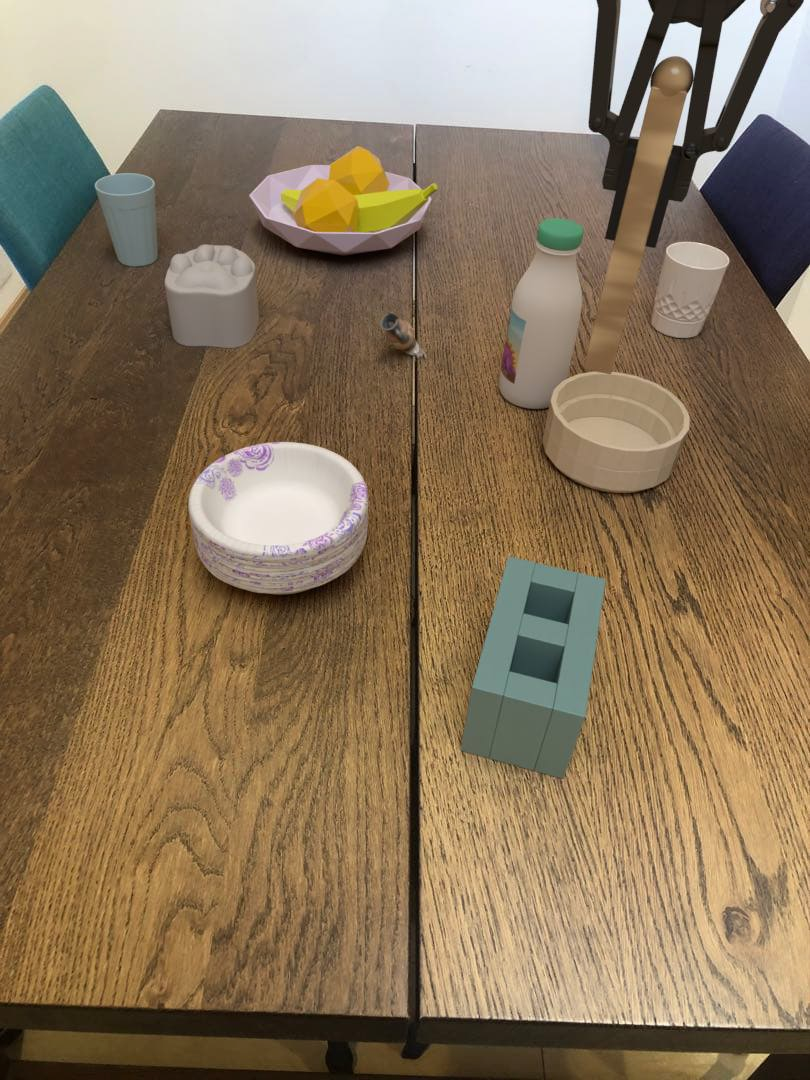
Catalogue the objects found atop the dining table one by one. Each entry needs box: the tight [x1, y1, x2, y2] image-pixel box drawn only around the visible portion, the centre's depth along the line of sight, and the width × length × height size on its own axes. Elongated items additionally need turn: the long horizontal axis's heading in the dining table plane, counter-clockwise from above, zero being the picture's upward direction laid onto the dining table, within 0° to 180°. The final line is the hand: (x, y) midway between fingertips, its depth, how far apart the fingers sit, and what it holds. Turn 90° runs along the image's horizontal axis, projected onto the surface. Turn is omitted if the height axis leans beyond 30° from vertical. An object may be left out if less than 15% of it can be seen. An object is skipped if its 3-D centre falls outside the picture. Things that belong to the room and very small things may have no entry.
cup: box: [94, 172, 159, 267], centre depth 112 cm, size 8×8×10 cm
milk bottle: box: [498, 217, 584, 410], centre depth 90 cm, size 8×8×20 cm
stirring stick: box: [582, 55, 694, 374], centre depth 63 cm, size 3×3×24 cm
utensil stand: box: [459, 555, 607, 780], centre depth 62 cm, size 8×13×8 cm, turn 164°
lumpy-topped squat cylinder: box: [164, 244, 260, 349], centre depth 102 cm, size 10×13×9 cm
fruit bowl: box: [248, 145, 439, 257], centre depth 121 cm, size 28×27×11 cm
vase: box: [379, 312, 428, 364], centre depth 99 cm, size 5×5×6 cm
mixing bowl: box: [541, 371, 691, 494], centre depth 87 cm, size 14×14×6 cm
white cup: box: [650, 241, 731, 339], centre depth 107 cm, size 8×8×10 cm
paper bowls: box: [187, 441, 369, 596], centre depth 72 cm, size 15×15×8 cm
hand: (631, 236), depth 63 cm, fingers closed on stirring stick, 2 cm apart
